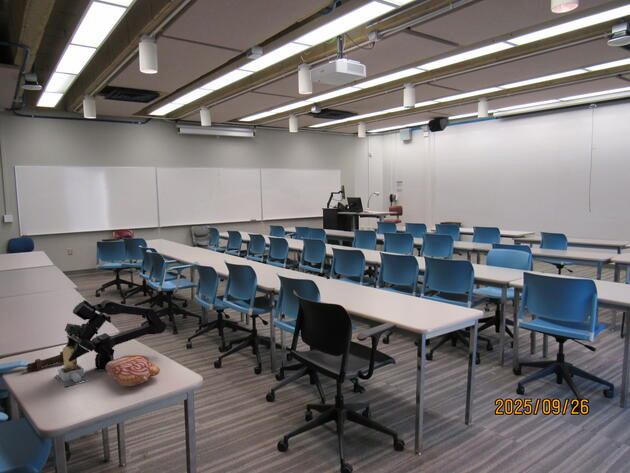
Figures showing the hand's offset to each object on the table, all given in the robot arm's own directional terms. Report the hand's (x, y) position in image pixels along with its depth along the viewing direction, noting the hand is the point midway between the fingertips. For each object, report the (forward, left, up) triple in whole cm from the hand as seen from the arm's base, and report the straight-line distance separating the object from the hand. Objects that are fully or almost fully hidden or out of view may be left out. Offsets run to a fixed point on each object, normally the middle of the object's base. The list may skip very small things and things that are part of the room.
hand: (66, 358), depth 177 cm
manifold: (-2, 0, -9) cm, 9 cm away
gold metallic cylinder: (-1, -1, -8) cm, 8 cm away
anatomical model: (-27, +1, -9) cm, 29 cm away
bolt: (+16, -13, -9) cm, 22 cm away
